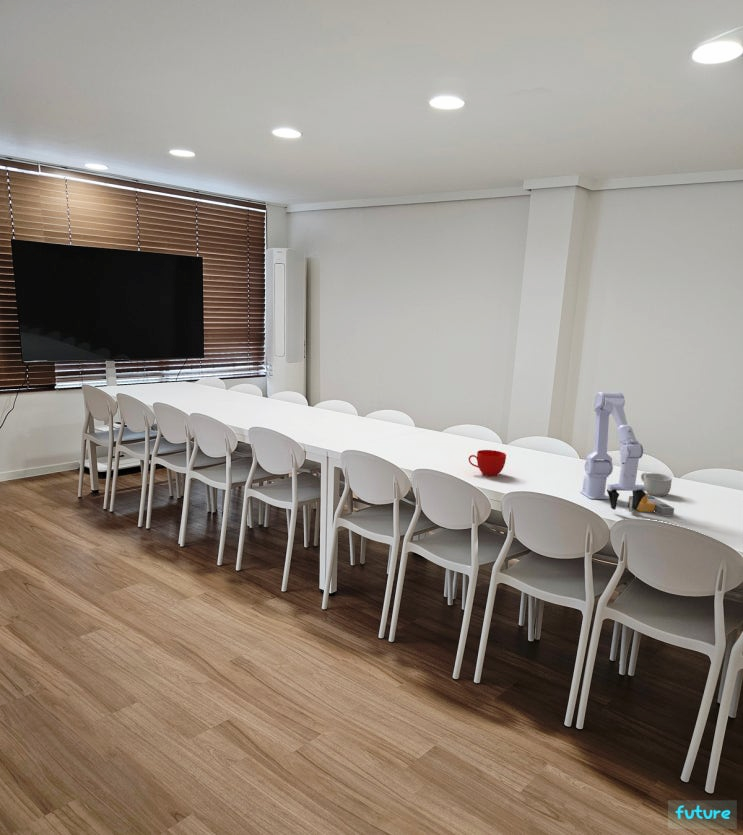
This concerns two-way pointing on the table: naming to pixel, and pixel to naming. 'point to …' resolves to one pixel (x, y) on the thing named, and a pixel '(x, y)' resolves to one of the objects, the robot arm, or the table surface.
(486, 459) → the ceramic cup
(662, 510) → the power strip
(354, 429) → the table surface
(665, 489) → the teacup
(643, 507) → the plug
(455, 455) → the table surface
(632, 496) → the clip
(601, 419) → the robot arm
